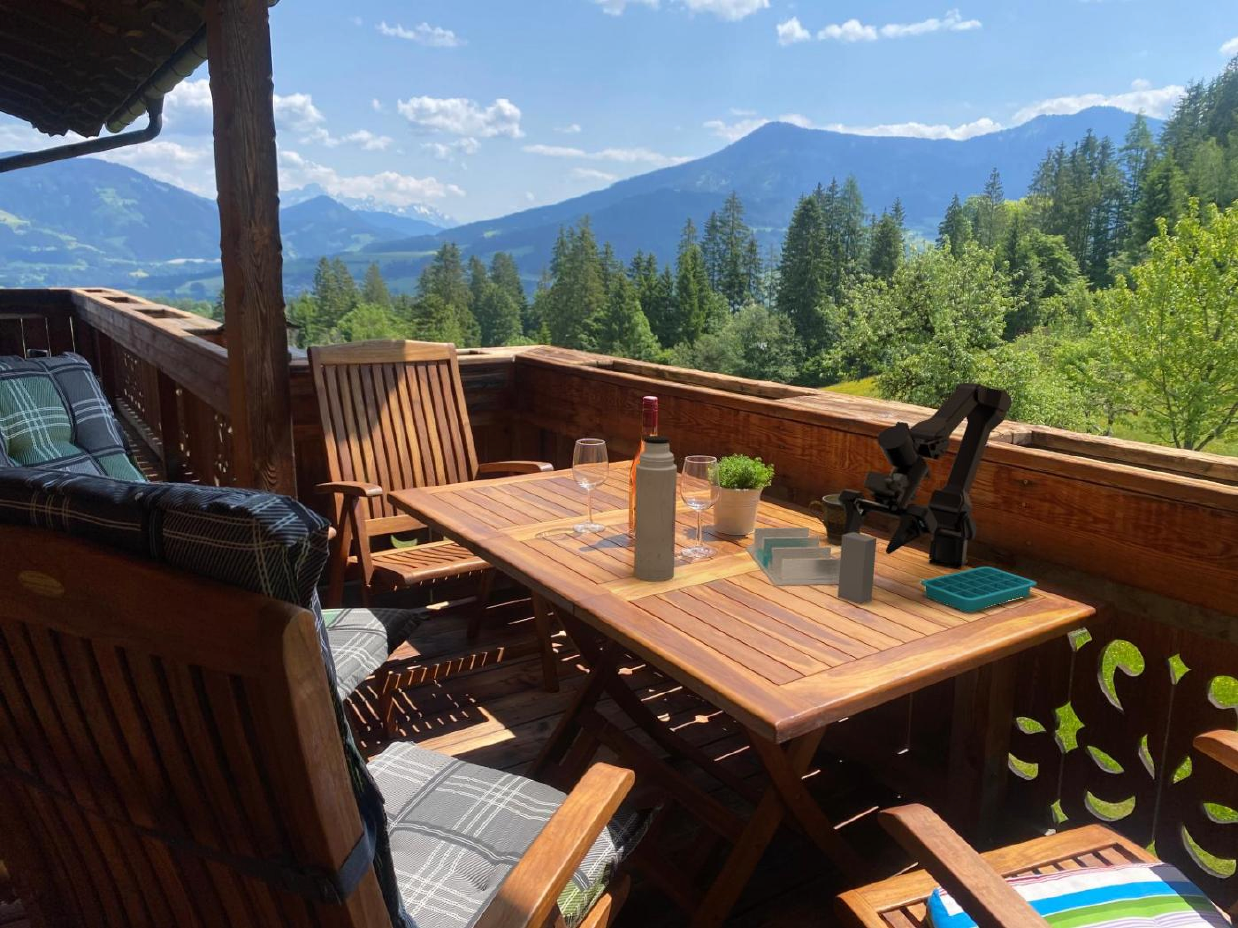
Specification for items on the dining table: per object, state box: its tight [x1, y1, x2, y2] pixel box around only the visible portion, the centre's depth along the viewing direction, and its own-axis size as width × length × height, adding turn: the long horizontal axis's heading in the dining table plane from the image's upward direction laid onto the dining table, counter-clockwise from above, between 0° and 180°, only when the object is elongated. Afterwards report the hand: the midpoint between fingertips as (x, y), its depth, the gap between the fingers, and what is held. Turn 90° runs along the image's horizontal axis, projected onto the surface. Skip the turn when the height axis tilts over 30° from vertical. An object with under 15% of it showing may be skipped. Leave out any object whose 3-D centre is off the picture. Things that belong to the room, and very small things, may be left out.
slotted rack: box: [746, 526, 841, 586], centre depth 178 cm, size 15×23×5 cm, turn 5°
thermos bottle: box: [633, 435, 678, 582], centre depth 168 cm, size 8×8×28 cm
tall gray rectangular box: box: [837, 532, 877, 605], centre depth 158 cm, size 4×5×12 cm
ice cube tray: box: [920, 566, 1037, 613], centre depth 162 cm, size 12×20×3 cm, turn 120°
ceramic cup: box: [808, 494, 865, 547], centre depth 195 cm, size 13×10×10 cm
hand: (865, 546), depth 159 cm, fingers open, 9 cm apart
